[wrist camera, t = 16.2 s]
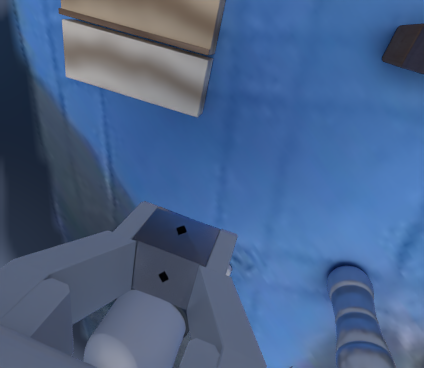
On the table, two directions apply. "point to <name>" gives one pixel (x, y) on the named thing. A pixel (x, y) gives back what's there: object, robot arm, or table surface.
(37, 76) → the table surface
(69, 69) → the plank
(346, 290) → the plastic bottle
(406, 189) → the table surface
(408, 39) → the wooden block
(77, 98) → the table surface
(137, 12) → the laid board
